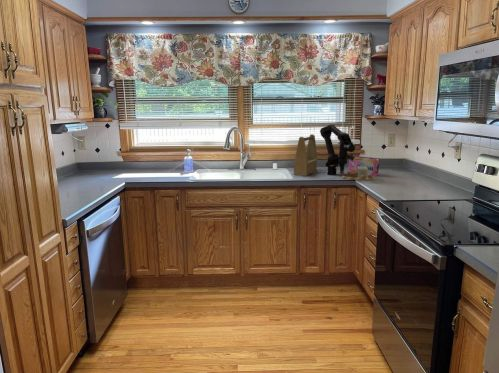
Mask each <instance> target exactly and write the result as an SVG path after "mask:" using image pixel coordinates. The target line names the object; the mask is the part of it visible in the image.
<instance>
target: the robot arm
mask: <svg viewBox="0 0 499 373" xmlns="http://www.w3.org/2000/svg"><path fill="white" fill-rule="evenodd" d="M319 133H320V136H321V137H322V138H323V139H324V142H325V147H326V149H327V150H326V151H327V154H328V156H327V161H326V163H325V167H327V173H326V174H327V175H328V176H329V175H330V176H336V175H337V173H338V172H337V170H338V169H337V167H339V170H340V169H341V171H343V169H344V170H345V165H346V164H348V160H349V159H350V160H352V161H353V160H354V158H355V157H354V156H355V155H354V154H353V152H355V150H356V146H355V144H354V142H353V141H352V139H351V137H350V134H349V133H347V132H344V131H342V130H341V129H339V128H338V127H337V126H335V124H328V125H326V126H324V127H321V128H320V130H319ZM332 134H333V135H335V136H336V137H337V140H338V141H339V142H338V143H337V144H338V145H339V149H338V150H339V151H338V152H339V153H338V154H336V153H335V148H334V146H333V141H332V137H331V136H332ZM349 152H350V153H349Z"/></svg>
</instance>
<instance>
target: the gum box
mask: <svg viewBox="0 0 499 373" xmlns="http://www.w3.org/2000/svg"><path fill="white" fill-rule="evenodd" d="M353 156H354V157H355V158H354V160H353V161H352V160H350V159H348V171H347V173H348V172H350V169H356V173H357V166H362V167H367V168H368V175H372V177H377V175H378V176H379V170H380V169H379V167H380V162H381V161H380V160H381V159H380V158H377V157H371V156H361V155H353Z"/></svg>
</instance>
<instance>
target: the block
mask: <svg viewBox="0 0 499 373" xmlns="http://www.w3.org/2000/svg"><path fill="white" fill-rule="evenodd" d="M350 174H356V169H350Z"/></svg>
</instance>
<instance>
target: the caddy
mask: <svg viewBox="0 0 499 373" xmlns="http://www.w3.org/2000/svg"><path fill="white" fill-rule="evenodd" d="M306 141H308V143H307V146H306ZM316 143H317V142H316V136H315V134H310V135H309V136H306V137H304V136H299V137H298V141H297V146H296V152H295V155H294V163H293V175H294V176H301V177H306V176H309V175H310V174H313V173H315V172H316V171H317V168H318V152H317V145H316Z"/></svg>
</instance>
